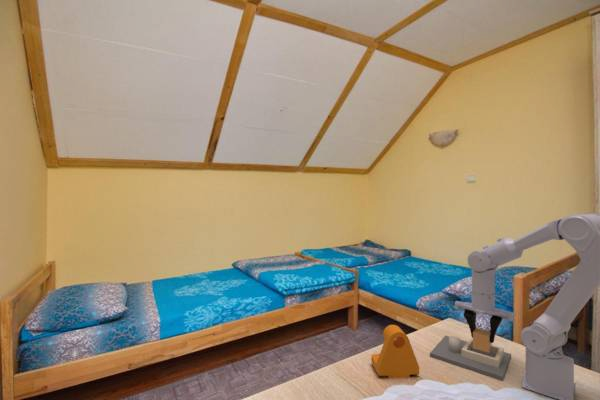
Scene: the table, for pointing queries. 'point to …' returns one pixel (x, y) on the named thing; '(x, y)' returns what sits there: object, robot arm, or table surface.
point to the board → (472, 356)
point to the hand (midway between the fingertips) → (482, 339)
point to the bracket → (395, 355)
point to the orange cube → (481, 340)
